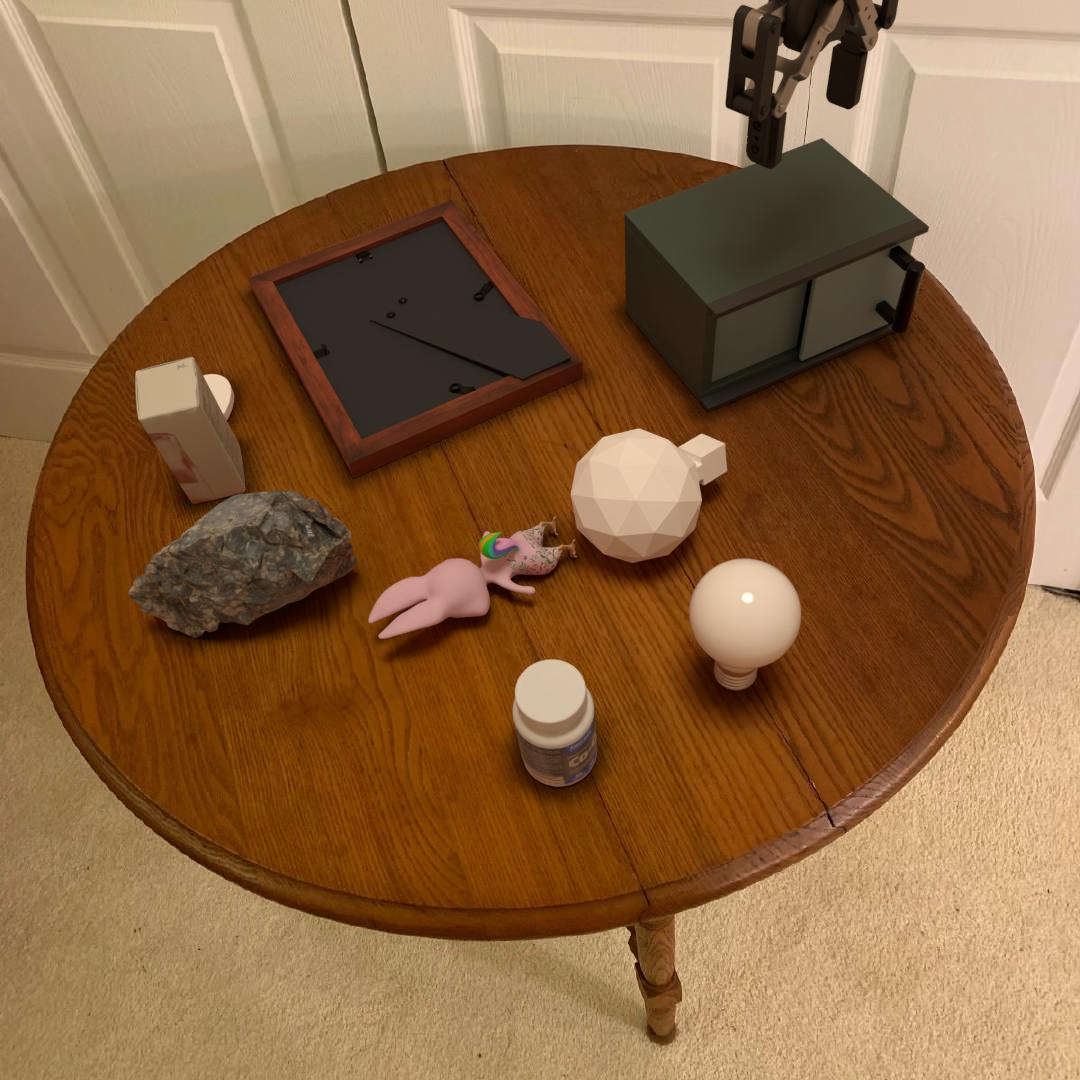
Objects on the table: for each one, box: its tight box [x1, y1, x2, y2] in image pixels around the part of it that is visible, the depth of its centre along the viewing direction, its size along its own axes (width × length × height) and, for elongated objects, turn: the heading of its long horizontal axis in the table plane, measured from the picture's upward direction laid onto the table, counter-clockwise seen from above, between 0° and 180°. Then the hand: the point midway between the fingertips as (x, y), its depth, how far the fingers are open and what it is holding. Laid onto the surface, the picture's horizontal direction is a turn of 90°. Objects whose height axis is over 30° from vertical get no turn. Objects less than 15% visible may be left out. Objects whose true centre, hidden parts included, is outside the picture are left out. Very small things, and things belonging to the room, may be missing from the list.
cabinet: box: [623, 137, 930, 413], centre depth 78 cm, size 13×18×10 cm
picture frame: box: [247, 199, 584, 479], centre depth 84 cm, size 20×2×25 cm
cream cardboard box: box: [134, 356, 247, 505], centre depth 73 cm, size 5×4×10 cm
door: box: [799, 237, 926, 361], centre depth 75 cm, size 4×9×8 cm, turn 116°
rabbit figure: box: [367, 516, 578, 640], centre depth 67 cm, size 6×6×15 cm
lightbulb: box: [688, 557, 802, 692], centre depth 59 cm, size 6×6×11 cm
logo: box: [203, 373, 235, 421], centre depth 82 cm, size 6×1×8 cm
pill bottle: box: [512, 658, 598, 788], centre depth 59 cm, size 5×5×8 cm
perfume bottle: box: [570, 428, 728, 564], centre depth 68 cm, size 9×9×12 cm
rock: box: [127, 489, 358, 639], centre depth 66 cm, size 14×10×10 cm
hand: (803, 132), depth 66 cm, fingers open, 8 cm apart
